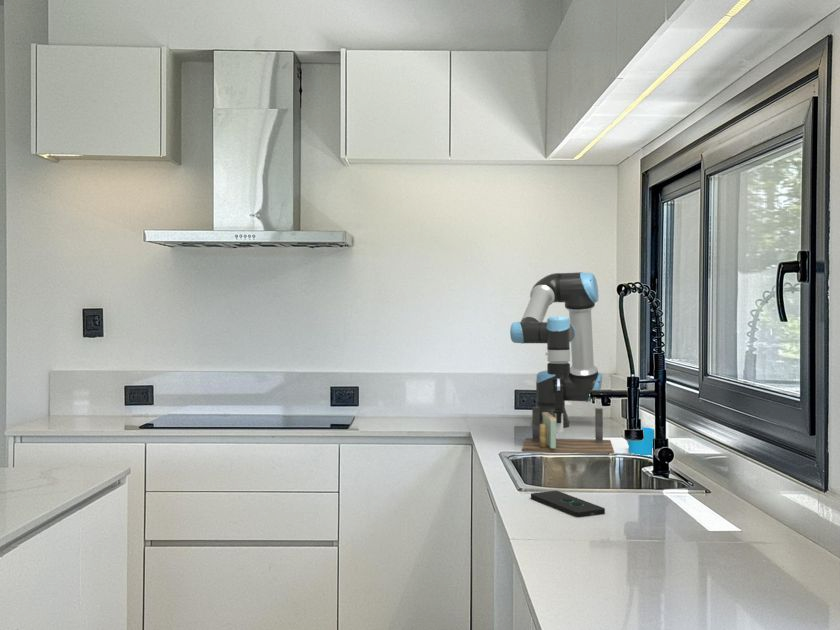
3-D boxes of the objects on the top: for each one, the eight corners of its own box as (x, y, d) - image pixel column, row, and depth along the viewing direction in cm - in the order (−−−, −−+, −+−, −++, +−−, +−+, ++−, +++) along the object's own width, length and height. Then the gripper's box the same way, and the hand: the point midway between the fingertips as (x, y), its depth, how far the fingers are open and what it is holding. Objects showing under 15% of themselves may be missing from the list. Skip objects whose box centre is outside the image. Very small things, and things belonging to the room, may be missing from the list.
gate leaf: (546, 439, 267) (546, 411, 267) (556, 448, 249) (556, 418, 249) (541, 439, 267) (541, 411, 267) (550, 448, 249) (550, 418, 249)
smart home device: (576, 512, 169) (529, 493, 187) (576, 519, 169) (529, 499, 187) (606, 508, 172) (557, 489, 191) (606, 515, 172) (557, 496, 191)
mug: (659, 455, 245) (659, 430, 245) (638, 456, 242) (638, 431, 242) (637, 449, 256) (637, 425, 256) (617, 450, 254) (617, 426, 254)
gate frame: (525, 440, 275) (525, 404, 275) (610, 442, 269) (610, 406, 269) (522, 451, 252) (521, 412, 252) (614, 454, 246) (613, 414, 247)
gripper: (547, 361, 260) (548, 429, 260) (546, 363, 247) (547, 435, 247) (569, 361, 258) (570, 429, 258) (570, 363, 246) (570, 435, 246)
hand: (559, 432), depth 253 cm, fingers closed
